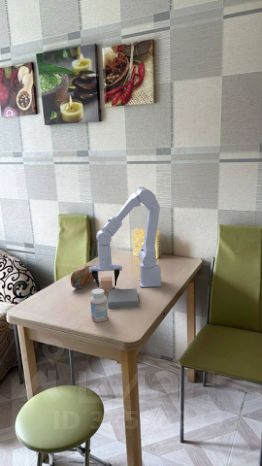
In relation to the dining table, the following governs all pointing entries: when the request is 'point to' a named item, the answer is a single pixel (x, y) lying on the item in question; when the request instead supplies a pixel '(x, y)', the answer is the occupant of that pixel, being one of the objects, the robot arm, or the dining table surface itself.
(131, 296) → the gray block
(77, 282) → the tin
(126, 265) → the dining table surface
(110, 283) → the terracotta cube
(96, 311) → the pill bottle
